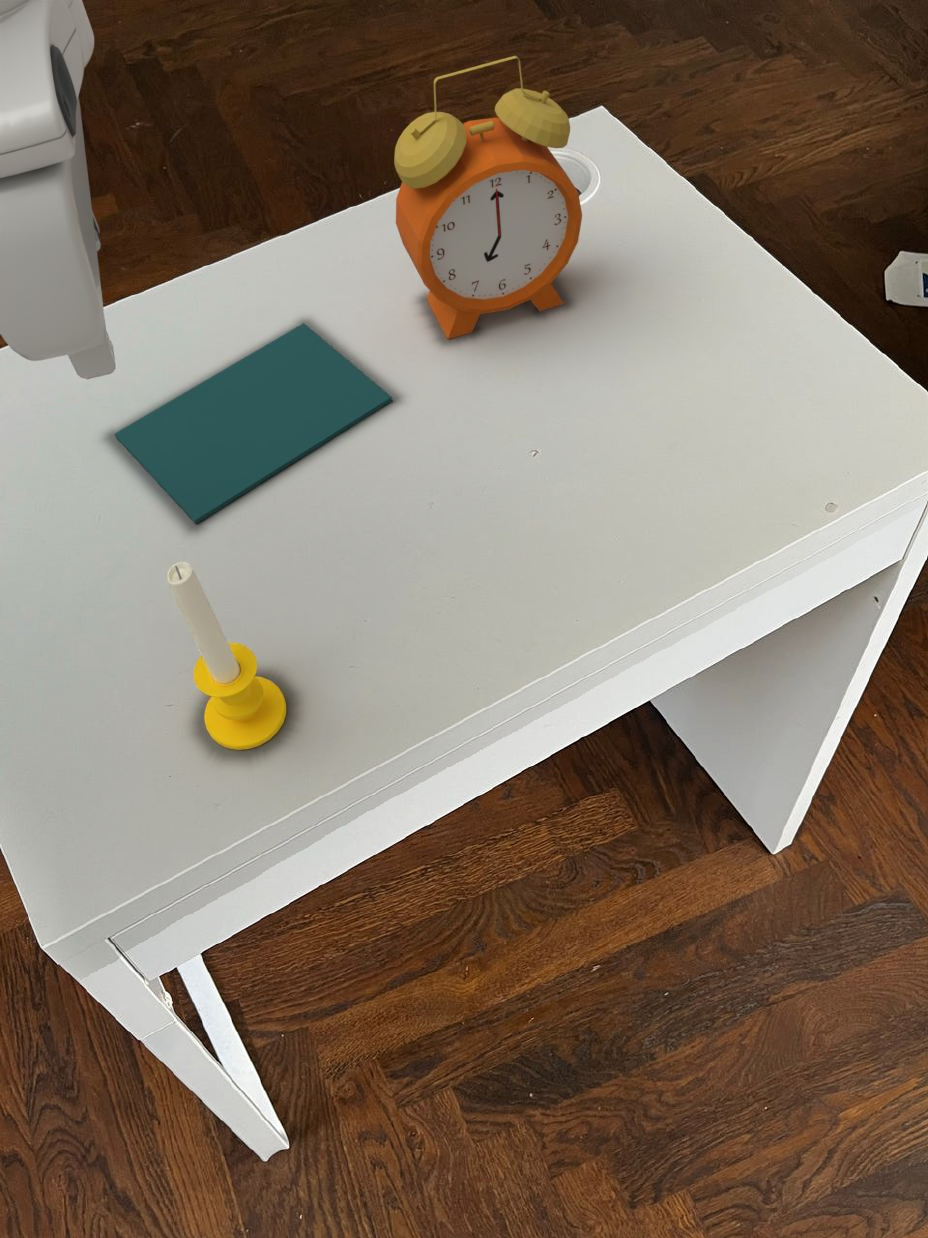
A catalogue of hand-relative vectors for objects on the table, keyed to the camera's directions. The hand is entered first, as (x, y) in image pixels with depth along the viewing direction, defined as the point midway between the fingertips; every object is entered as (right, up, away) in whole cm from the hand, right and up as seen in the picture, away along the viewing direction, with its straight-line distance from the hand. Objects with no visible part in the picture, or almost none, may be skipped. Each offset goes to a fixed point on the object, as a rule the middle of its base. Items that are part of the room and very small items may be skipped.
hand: (91, 303), depth 56 cm
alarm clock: (+21, +10, +38) cm, 45 cm away
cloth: (+2, 0, +32) cm, 33 cm away
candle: (+4, -22, +17) cm, 28 cm away
